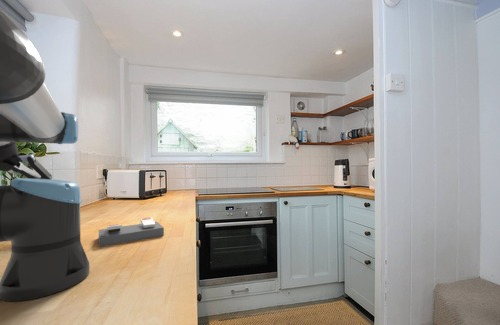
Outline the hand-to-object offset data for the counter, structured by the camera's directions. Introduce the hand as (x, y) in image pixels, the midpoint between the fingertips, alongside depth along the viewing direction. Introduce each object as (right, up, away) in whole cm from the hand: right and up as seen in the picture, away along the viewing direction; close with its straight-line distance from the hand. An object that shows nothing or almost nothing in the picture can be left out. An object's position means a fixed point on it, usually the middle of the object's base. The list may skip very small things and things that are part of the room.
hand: (10, 201), depth 68 cm
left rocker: (+25, -11, +12) cm, 29 cm away
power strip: (+29, -16, +15) cm, 36 cm away
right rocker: (+34, -11, +18) cm, 40 cm away
